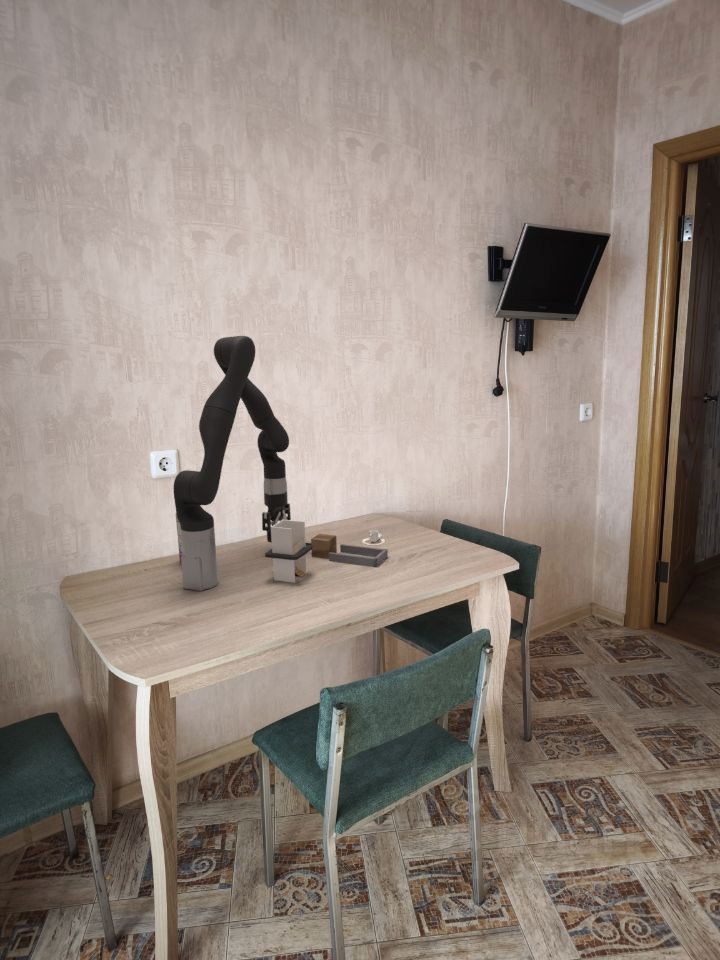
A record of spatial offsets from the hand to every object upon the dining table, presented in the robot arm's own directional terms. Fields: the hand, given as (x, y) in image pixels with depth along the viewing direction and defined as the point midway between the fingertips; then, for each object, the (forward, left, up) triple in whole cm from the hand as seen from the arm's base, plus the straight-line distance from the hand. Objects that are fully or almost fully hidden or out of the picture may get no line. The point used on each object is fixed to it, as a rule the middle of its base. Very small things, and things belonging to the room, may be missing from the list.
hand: (277, 538), depth 218 cm
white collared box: (-20, -16, -4) cm, 26 cm away
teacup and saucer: (+20, -30, -4) cm, 36 cm away
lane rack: (0, -29, -4) cm, 29 cm away
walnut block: (0, -10, -4) cm, 10 cm away
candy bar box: (-21, +17, -4) cm, 27 cm away
